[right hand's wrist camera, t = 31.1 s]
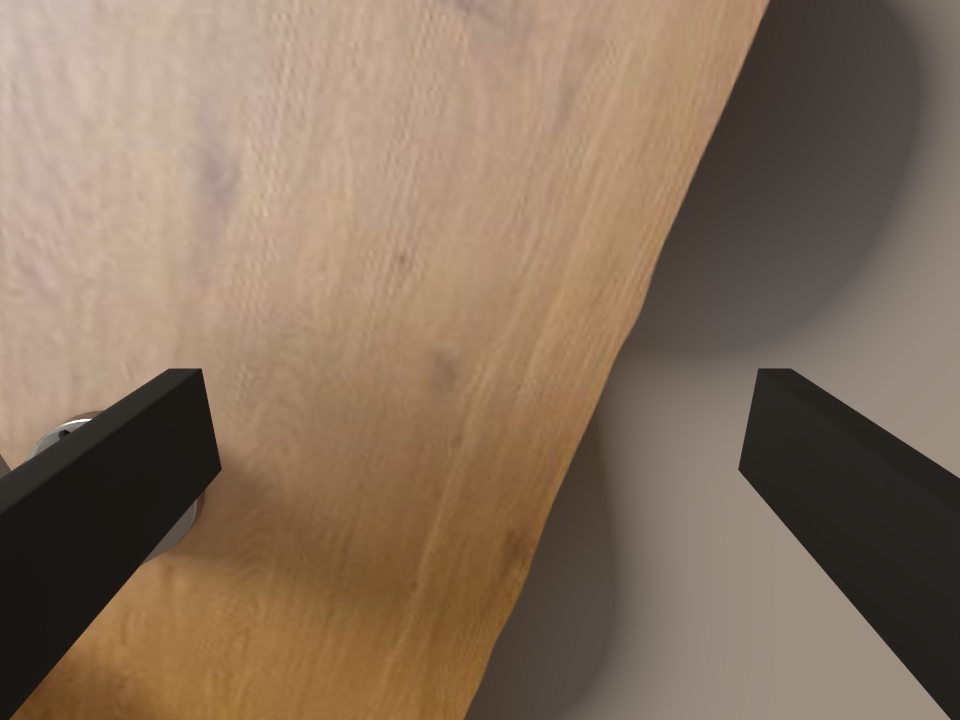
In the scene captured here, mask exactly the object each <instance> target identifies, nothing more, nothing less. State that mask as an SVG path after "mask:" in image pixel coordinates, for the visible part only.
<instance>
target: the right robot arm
mask: <svg viewBox="0 0 960 720" xmlns="http://www.w3.org/2000/svg"><path fill="white" fill-rule="evenodd" d="M221 470H222V469H221V464H220V459H219V454H218V448H217V443H216V438H215V433H214V428H213V423H212V418H211V413H210V408H209V403H208V398H207V393H206V388H205V383H204V378H203V373H202V369H168V370H166V371H165V372H163V373H162V374H160V375H158V376H157V377H155V378H154V379H152V380H151V381H149V382H148V383H146V384H145V385H143V386H142V387H140V388H138V389H137V390H135V391H134V392H132V393H131V394H129V395H128V396H126V397H125V398H123V399H122V400H120V401H119V402H117V403H115V404H114V405H112V406H111V407H109V408H108V409H106V410H105V411H97V412H90V413H85V414H81V415H78V416H76V417H73V418H71V419H69V420H68V421H66V422H64V423H63V424H61V425H59V426H58V427H56V428H55V429H53V430H51V431H50V432H49V433H47V434H46V435H45V436H44V437H43V438H41V440H40V441H39V442H38V443H37V445H36V446H35V448H34V449H33V450H32V452H31V453H30V455H29V456H28V457H27V459H26V460H25V461H24V463H23V464H22V465H20V466H19V467H17V468H16V469H14V470H13V471H11V470H10V468H9V467H8V465H7V464H6V462H5V461H4V459H3V458H2V456H1V455H0V720H9V719H10V718H11V717H12V716H13V714H14V713H15V712H16V711H17V710H18V708H19V707H20V706H21V705H22V704H23V703H24V701H25V700H26V699H27V698H28V697H29V696H30V694H31V693H32V692H33V691H34V690H35V689H36V687H37V686H38V685H39V684H40V683H41V681H42V680H43V679H44V678H45V677H46V676H47V674H48V673H49V672H50V671H51V670H52V669H53V667H54V666H55V665H56V664H57V663H58V661H59V660H60V659H61V658H62V657H63V656H64V654H65V653H66V652H67V651H68V650H69V649H70V647H71V646H72V645H73V644H74V643H75V642H76V640H77V639H78V638H79V637H80V636H81V634H82V633H83V632H84V631H85V630H86V629H87V627H88V626H89V625H90V624H91V623H92V622H93V620H94V619H95V618H96V617H97V616H98V614H99V613H100V612H101V611H102V610H103V609H104V607H105V606H106V605H107V604H108V603H109V602H110V600H111V599H112V598H113V597H114V596H115V594H116V593H117V592H118V591H119V590H120V589H121V587H122V586H123V585H124V584H125V583H126V582H127V580H128V579H129V578H130V577H131V576H132V575H133V573H134V572H135V571H136V570H137V569H138V567H139V566H141V565H143V564H144V563H146V562H148V561H149V560H151V559H153V558H154V557H156V556H158V555H159V554H161V553H163V552H164V551H166V550H168V549H169V548H171V547H173V546H174V545H175V544H177V543H178V542H179V541H180V540H181V539H182V538H183V537H184V536H185V535H186V533H187V532H188V531H189V530H190V528H191V527H192V526H193V525H194V523H195V522H196V520H197V519H198V517H199V515H200V513H201V511H202V507H203V503H204V490H205V489H206V488H207V486H208V485H209V484H210V483H211V482H212V481H213V479H214V478H215V477H216V476H217V475H218V473H219V472H220V471H221ZM738 470H739V471H740V472H741V473H742V475H743V476H744V477H745V478H746V479H747V481H748V482H749V483H750V484H751V485H752V486H753V488H754V489H755V490H756V491H757V492H758V493H759V495H760V496H761V497H762V498H763V499H764V500H765V502H766V503H767V504H768V505H769V506H770V507H771V509H772V510H773V511H774V512H775V513H776V515H777V516H778V517H779V518H780V519H781V520H782V522H783V523H784V524H785V525H786V526H787V527H788V529H789V530H790V531H791V532H792V533H793V535H794V536H795V537H796V538H797V539H798V540H799V542H800V543H801V544H802V545H803V546H804V547H805V549H806V550H807V551H808V552H809V553H810V555H811V556H812V557H813V558H814V559H815V560H816V562H817V563H818V564H819V565H820V566H821V567H822V569H823V570H824V571H825V572H826V573H827V575H828V576H829V577H830V578H831V579H832V580H833V581H834V583H835V584H836V585H837V586H838V587H839V589H840V590H841V591H842V592H843V593H844V594H845V596H846V597H847V598H848V599H849V600H850V602H851V603H852V604H853V605H854V606H855V607H856V609H857V610H858V611H859V612H860V613H861V614H862V616H863V617H864V618H865V619H866V620H867V622H868V623H869V624H870V625H871V626H872V627H873V629H874V630H875V631H876V632H877V633H878V634H879V636H880V637H881V638H882V639H883V640H884V642H885V643H886V644H887V645H888V646H889V647H890V648H891V650H892V651H893V652H894V653H895V654H896V656H897V657H898V658H899V659H900V660H901V661H902V663H903V664H904V665H905V666H906V667H907V669H908V670H909V671H910V672H911V673H912V674H913V676H914V677H915V678H916V679H917V680H918V681H919V683H920V684H921V685H922V686H923V687H924V689H925V690H926V691H927V692H928V693H929V694H930V696H931V697H932V698H933V699H934V700H935V701H936V703H937V704H938V705H939V706H940V707H941V708H942V710H943V711H944V712H945V713H946V714H947V716H948V717H949V718H950V719H951V720H960V478H958V477H957V476H955V475H954V474H952V473H951V472H949V471H947V470H946V469H944V468H943V467H941V466H940V465H938V464H937V463H935V462H934V461H932V460H931V459H929V458H927V457H926V456H924V455H923V454H921V453H920V452H918V451H917V450H915V449H914V448H912V447H911V446H909V445H908V444H906V443H904V442H903V441H901V440H900V439H898V438H897V437H895V436H894V435H892V434H891V433H889V432H888V431H886V430H884V429H883V428H881V427H880V426H878V425H877V424H875V423H874V422H872V421H871V420H869V419H868V418H866V417H865V416H863V415H861V414H860V413H858V412H857V411H855V410H854V409H852V408H851V407H849V406H848V405H846V404H844V403H843V402H841V401H840V400H838V399H837V398H835V397H834V396H832V395H831V394H829V393H828V392H826V391H825V390H823V389H822V388H820V387H818V386H817V385H815V384H814V383H812V382H811V381H809V380H808V379H806V378H805V377H803V376H802V375H800V374H798V373H797V372H795V371H794V370H792V369H758V373H757V378H756V383H755V388H754V393H753V398H752V403H751V408H750V414H749V419H748V423H747V429H746V433H745V438H744V443H743V449H742V454H741V459H740V464H739V469H738Z"/></svg>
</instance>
